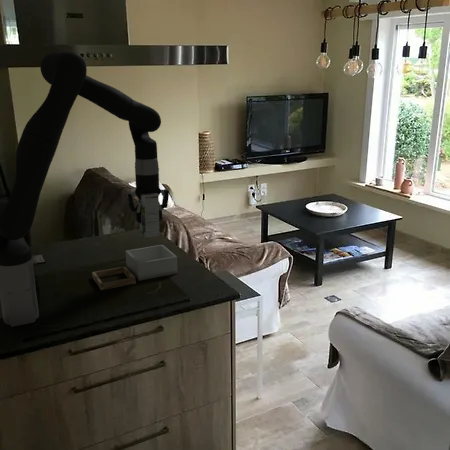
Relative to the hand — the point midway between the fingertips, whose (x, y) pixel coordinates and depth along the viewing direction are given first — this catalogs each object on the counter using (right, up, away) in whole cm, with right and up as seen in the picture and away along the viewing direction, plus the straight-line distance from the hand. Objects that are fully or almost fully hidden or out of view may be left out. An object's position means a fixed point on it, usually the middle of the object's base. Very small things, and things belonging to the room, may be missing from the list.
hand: (149, 221), depth 173 cm
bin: (0, -17, +5) cm, 17 cm away
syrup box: (0, -5, +1) cm, 5 cm away
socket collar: (-11, -19, -3) cm, 22 cm away
